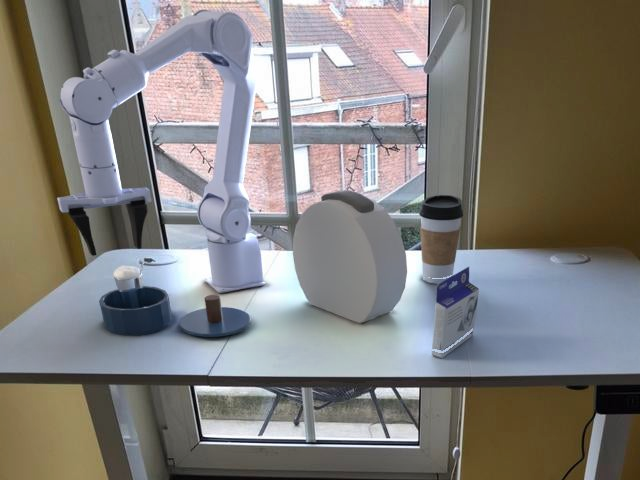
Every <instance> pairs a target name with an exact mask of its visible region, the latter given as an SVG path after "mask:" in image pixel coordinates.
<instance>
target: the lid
mask: <svg viewBox="0 0 640 480" xmlns="http://www.w3.org/2000/svg"><path fill="white" fill-rule="evenodd" d="M204 306H205V308H199V309H195V310H192V311H191V312H187V313H186V314H184V315H183V316H182V317H181V318H180V319H179V323H178V324H179V328H180V329H181V330H182V331H183V332H184V333H186V334H189V335H191V336H196V337H203V338H204V337H206V338H214V337H225V336H231V335H234V334H236V333H239V332H242V331H244V330H245V329H247V328H249V326H250V325H251V323H252V321H251V320H252V319H251V316H250V314H249V313H247V312H246V311H244V310H242V309H239V308H235V307H229V306H228V307H227V306H222V301H221V296H220V295H219V294H208V295H205V296H204Z"/></svg>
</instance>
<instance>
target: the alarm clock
mask: <svg viewBox="0 0 640 480" xmlns="http://www.w3.org/2000/svg"><path fill="white" fill-rule="evenodd" d="M320 198H321V199H320V201H318V202H315V203H312V204H310V205H309V206H308V207H307V208H305V210H304V211H302V213H301V215H300V217H299V218H298V220H297V223H296V224H295V228H294V234H293V236H292V237H293V238H292V259H293V265H294V270H295V274H296V277H297V280H298V284H299V286H300V288H301V290H302V292H303V294H304V296H305V299H306V300H307V302H308V303H309V305H311V306H314V307H317V308H319V309H322V310H324V311H327V312H329V313H332V314H335V315H337V316H340V317H342V318H344V319H347V320H350V321H353V322H355V323H357V324H362V323H365V322H368V321H370V320H373V319H376V318H378V317H380V316H381V317H382V316H383V315H385V314H388V313H390V312H392V311H393V310H394V308H395V307H396V306H397V305H398V303H399V302H400V301H401V299H402V296H403V293H404V291H405V288H406V283H407V275H408V266H407V265H408V263H407V253H406V250H405V249H406V248H405V245H404V241H403V237H402V235H401V233H400V231H399V229H398V227H397V225H396V222H395V221H394V220H393V218H392V217H391V215H390V214H389V213H388V211H387V210H386V208H384V207H383V206H382V205H381V204H380V203H379V202H377V201H376V200H375V199H374V198H371V197H369V196H366V195H364V194H362V193H360V192H357V191H354V190H347V189H343V190H336V191H332V192H329V193H325V194H324V193H323V195H322V196H321V197H320Z"/></svg>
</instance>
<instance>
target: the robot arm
mask: <svg viewBox="0 0 640 480" xmlns="http://www.w3.org/2000/svg"><path fill="white" fill-rule="evenodd" d="M253 40H254V35H253V33H252V31H251V30H250V29H249V27H248V25H247V24H246V23H245V21H244V20H243V18H242V17H241V16H239V15H238V14H237V13H236V12H232V11H225V12H220V11H211V10H208V9H199V10H196V11H195V12H194V13H193V14H192V15H191V14H190V15H189V14H188V15H187V16H184V17H183V18H181V19H180V20H179V21H178V22H176V23H175V24H174V25H172V26H171V27H169V28H168V29H166V31H164V32H162V33H161V34H160V35H158V36H157V37H156V38H154V39H152V40H151V41H150V42H148V43H147V44H145V45H144V46H143V47H141V48H140V49H139V50H137V51H136V52H134V53H133V52H130V51H128V50H127V49H121V50H120V51H119V50H117V49H112V50H110V51H109V52H107V56H108V58H107V59H105V60H104V61H102V62H100V63H99V64H97V65H96V66H94V67H93V68H91V67H85V68H84V69H82V72H83V77H80V76H74V77H73V76H72V77H70V78H68V79H66V81H65V82H64V83H63V84H62V87H61V89H60V97H59V98H58V102H59V105H60V107H61V109H62V110H63V111H64V112H65V114H67V115H68V117H69V121H70V126H71V131H72V137H73V142H74V146H75V151H76V155H77V156H76V157H77V161H78V164H79V169H80V174H81V179H82V183H83V187H84V192H82V193H81V192H80V193H77V194H71V195H66V196H60V197H57V198H56V199H57V203H58V209H59V210H60V212H61V213H62V214H65V213H67V214H68V216H69V218H71V220H72V222H73V224H74V225H75V226H76V227H77V229H78V231H79V233H80V234H81V236H82V238H83V239H84V242H85V244H86V247H87V249H88V253H89V254H90V255H91V256H92V257H93V256H97V249H96V245H95V243H94V240H93V235H92V231H91V223H90V217H89V215H87V211H86V210H89V209H96V208H104V207H105V208H106V207H112V206H120V205H125V207H126V210H127V211H126V212H127V214H128V219H129V222H130V227H131V228H130V229H131V234H132V241H133V246H134V247H135V248H136V249H137V250H140V249H142V238H143V231H144V230H143V229H144V225H145V221H146V217H147V214H148V211H149V208H148V205H147V204H146V203H152V202H153V201H152V196H151V190H150V189H149V188H148V187H134V188H122V183H121V177H120V172H119V167H118V162H117V157H116V152H115V146H114V141H113V136H112V132H111V127H110V122H109V119H110V117H111V115H112V113H113V109H115V108H116V107H118V106H120V105H121V104H123V103H124V102H126V101H127V100H129V99H131V98H132V97H134V96H135V95H137V94H138V93H140V92H141V91H143V90H144V89H146V87H147V84H148V77H149V75H151V74H152V73H154V72H156V71H158V70H159V69H161V68H162V67H165V66H166V65H168V64H171V63H172V62H174V61H175V60H177V59H179V58H181V57H183V56H184V55H186V54H188V53H199V54H200V55H201V56H202V57H204V58H205V59H206V60H208V61H209V62H210V63H211V64H212V65H213V66H214V68H215V70H216V71H217V73H218V74H219V76H220V77H221V79H222V80H223V85H222V96H221V104H220V111H219V112H220V113H219V121H218V130H217V139H216V144H215V153H214V154H215V155H214V163H213V171H212V178H211V179H210V180H209V182H208V183H207V184H206V185H205V186H204V191H203V195H202V198H201V200H200V201H199V203H198V205H197V209H196V215H197V220H198V221H199V224H200V225H201V226H202V227H203V228H204V229H205V236H206V245H207V252H208V259H209V260H208V261H209V266H210V275H211V276H210V277H205V278H204V281H205V282H206V283H207V284H208V285H209V286H210V287H212V289H214V291H216V292H217V293H218V294H223V293H229V292H234V291H238V290H245V289H250V288H256V287H260V286H264V285H265V284H266V282H265V281H264V273H263V263H262V252H261V247H260V243H259V240H258V238H257V236H256V235H255V234H253V233H249V231H250V229H251V225H252V220H251V215H250V209H249V208H250V198H249V196H248V194H247V192H246V189H245V188H244V179H245V173H246V165H247V158H248V151H249V144H250V135H251V129H252V120H253V113H254V106H255V100H256V99H255V98H256V92H257V85H258V84H257V83H258V70H257V66H256V62H255V61H256V60H255V57H254V52H253Z"/></svg>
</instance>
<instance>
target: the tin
mask: <svg viewBox="0 0 640 480" xmlns="http://www.w3.org/2000/svg"><path fill="white" fill-rule="evenodd" d="M143 292H144V301H145V307H142V308H136V309H123V305H122V302H121V298H120V295H119V291H118V288H117V289H114V290H110V291H108V292H107V293H105V294H103V295H102V296H101V297H100V299H99V300H98V302H99V307H100V311H101V316H102V321H103V323H104V327H105V329H106V330H107V331H109V332H111V333H113V334H115V335H120V336H121V335H122V336H141V335H142V336H143V335H148V334H154V333H157V332H160V331H162V330H164V329H167V327H169V326H170V325H171V324H172V322H173V314H172V307H171V300H170V294H169V293H168V292H167V291H166V290H165V289H162V288H159V287H157V286H156V287H155V286H149V285H148V286H147V285H143Z"/></svg>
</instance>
